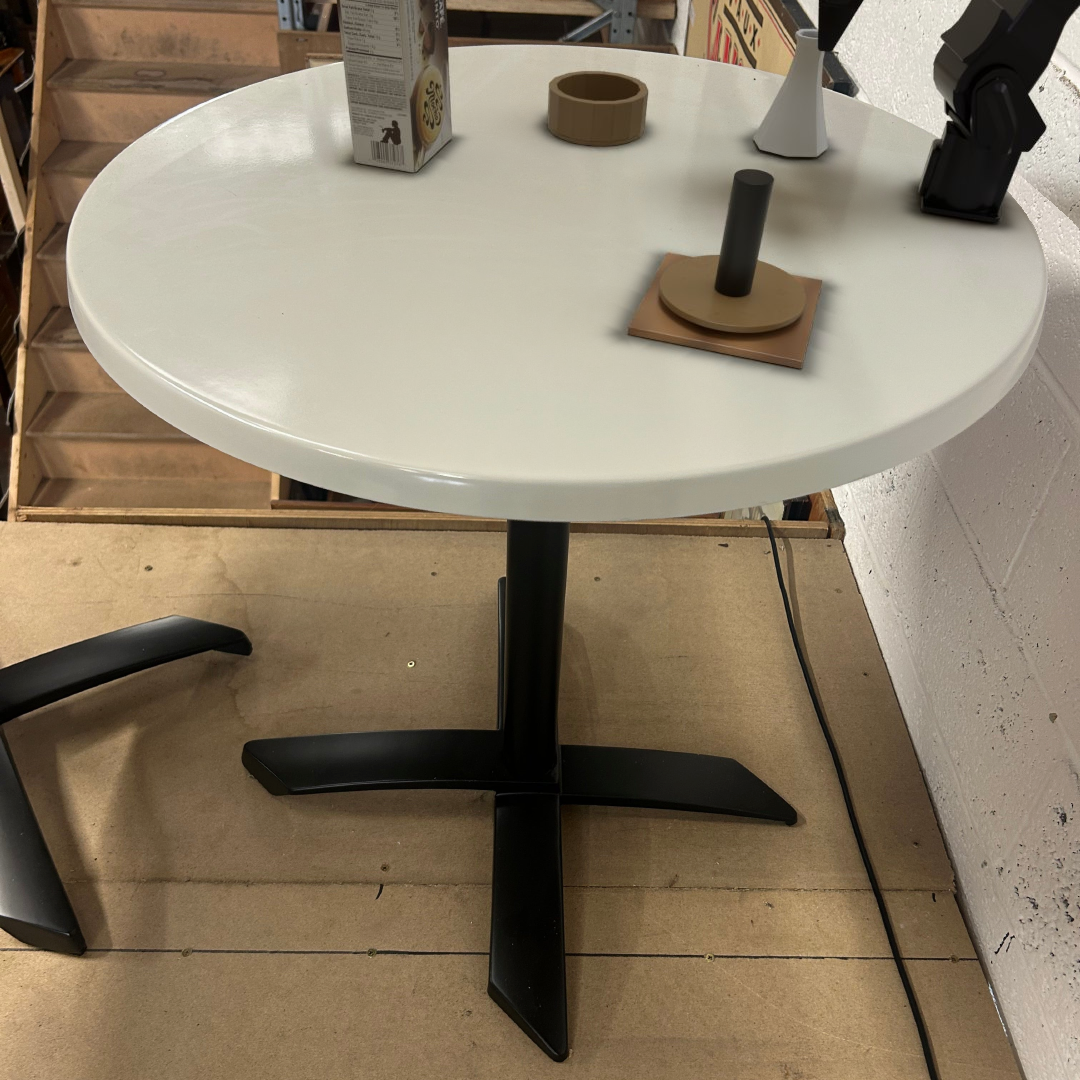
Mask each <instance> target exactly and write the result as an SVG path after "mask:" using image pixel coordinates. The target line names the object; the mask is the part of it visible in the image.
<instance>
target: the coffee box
mask: <svg viewBox="0 0 1080 1080" xmlns="http://www.w3.org/2000/svg"><path fill="white" fill-rule="evenodd" d="M336 8H337V16H338V25H339V33H340V42H341V52H342V60H343V68H344V69H343V70H344V79H345V88H346V96H347V106H348V115H349V124H350V134H351V141H352V150H353V151H352V153H353V160H354V163H357V164H362V165H367V166H372V167H379V168H385V169H391V170H396V171H401V172H407V173H417V172H418V171H419V170H420V169H421V168H422V167H423V166H425V164H426V163H428V162H429V160H430V159H431V158H432V157H434V156H435V155H436V153H438V152H439V151H440V149H442V148H443V147H444V146H445V145H446V144H447V143H448V142H449V141H450V140H451V139H452V138H453V125H452V105H451V103H452V102H451V83H450V79H451V77H450V57H449V56H450V55H449V54H450V52H449V38H448V37H449V33H448V32H449V31H448V30H449V29H448V11H447V10H448V9H447V0H336Z"/></svg>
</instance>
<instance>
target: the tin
mask: <svg viewBox="0 0 1080 1080" xmlns="http://www.w3.org/2000/svg"><path fill="white" fill-rule="evenodd" d="M547 95H548V96H547V128H548V131H549V132H550V133H551V134H552V135H553V136H555V137H557V138H558V139H560V140H563V141H565V142H569V143H573V144H577V145H583V146H591V147H611V146H619V145H625V144H629V143H631V142H634V141H636V140H638V139H639V138H640V137H642V136H643V133H644V129H645V127H646V120H647V119H646V118H647V109H648V108H647V107H648V100H649V88H648V85H647V84H646V83H645V82H643V81H641V79H638V78H637V77H634V76H631V75H626V74H623V73H619V72H613V71H605V70H603V71H602V70H580V71H573V72H572V71H571V72H567V73H563V74H561V75H558V76H555V77H554V78H552V79H551V80H550V81H549V83H548V93H547Z"/></svg>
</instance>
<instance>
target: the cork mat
mask: <svg viewBox="0 0 1080 1080" xmlns="http://www.w3.org/2000/svg"><path fill="white" fill-rule="evenodd" d="M692 257H693V256H690V255H684V254H678V253H672V252H666V254H665V255H664V257H663V260H662V261H661V263H660V265H659V267H658V269H657V270H656V273H655V275H654V277H653V279H652V280H651V283H650V284H649V286H648V288H647V290H646V292H645V294H644V296H643V298H642V299H641V301H640V304H639V306H638V307H637V310H636V311H635V313H634V315H633V317H632V319H631V321H630V323H629V325H628V326H627V335H631V336H635V337H640V338H645V339H651V340H655V341H660V342H665V343H670V344H675V345H676V344H677V345H680V346H685V347H690V348H695V349H700V350H705V351H710V352H716V353H720V354H726V355H731V356H735V357H741V358H746V359H751V360H755V361H761V362H765V363H771V364H776V365H779V366H780V365H781V366H785V367H789V368H790V367H791V368H794V369H802V368H803V364H804V360H805V356H806V352H807V348H808V343H809V339H810V337H811V336H810V335H811V331H812V326H813V323H814V318H815V314H816V311H817V310H816V309H817V306H818V302H819V297H820V293H821V290H822V289H821V288H822V284H823V280H822V279H818V278H813V277H807V276H802V275H801V276H800V275H795V274H790V273H789V274H790V275H792V276H793V277H794V278H795V279H796V280H798V282H799V283H800V284H801V285H802V287H803V288H804V290H805V293H806V305H805V309H804V311H803V313H802V314H801V316H800V317H799V318H798V319H797V320H795V321H794V322H792V323H791V324H789V325H787V326H784V327H782V328H779V329H775V330H771V331H766V332H756V333H737V332H727V331H721V330H715V329H711V328H707V327H704V326H701V325H698V324H695V323H693V322H690V321H688V320H686V319H684V318H682V317H680V316H679V315H677V314H676V313H674V312H673V311H672V310H671V309H669V308H668V307H667V306H666V305H665V303H664V302H663V300H662V299H661V296H660V294H659V284H660V278H661V276H662V274H663V273H664V271H665V270H666V269H668V268H669V267H670V266H672V265H673V264H675V263H677V262H679V261H682V260H685V259H688V258H692Z"/></svg>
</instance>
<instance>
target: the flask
mask: <svg viewBox="0 0 1080 1080" xmlns="http://www.w3.org/2000/svg"><path fill="white" fill-rule="evenodd" d="M794 38H795V40H796V45H795V51H794V54H793V58H792V62H791V64H790V67H789V69H788V71H787V74H786V77H785V79H784V81H783V82H782V83H781V86H780V88H779V90H778V92H777V94H776V96H775V98H774V100H773V102H772V104H771V105H770V107H769V109H768V110H767V112H766V114H765V116H764V118H763V120H762V121H761V123H760V124H759V127H758V129H757V130H756V132H755V134H754V135H753V141H754V142H755V144H756V145H757V147H758V149H759V150H761V151H765V152H768V153H772V154H775V155H776V154H777V155H780V156H783V157H794V158H795V157H803V158H818V157H819V156H820V155H821V154H822V153H824V152H825V151H826V150H827V149H828V148H829V147H828V145H829V144H828V135H827V134H828V133H827V126H826V125H827V124H826V118H825V106H824V91H823V68H824V67H823V66H824V57H825V53H826V52H824V51H819V50H818V29H816V28H800V29H798V30H797V31H795V34H794Z"/></svg>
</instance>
